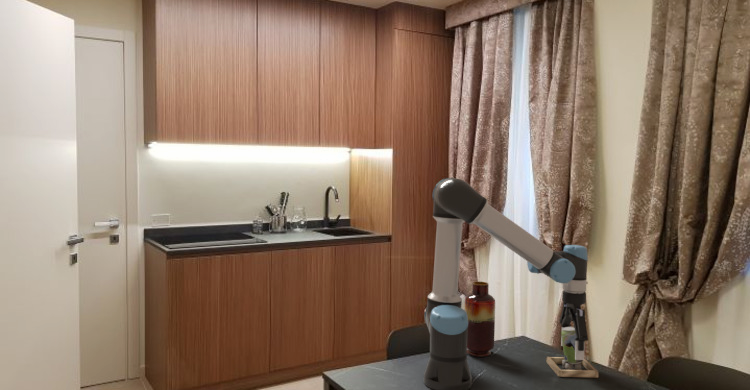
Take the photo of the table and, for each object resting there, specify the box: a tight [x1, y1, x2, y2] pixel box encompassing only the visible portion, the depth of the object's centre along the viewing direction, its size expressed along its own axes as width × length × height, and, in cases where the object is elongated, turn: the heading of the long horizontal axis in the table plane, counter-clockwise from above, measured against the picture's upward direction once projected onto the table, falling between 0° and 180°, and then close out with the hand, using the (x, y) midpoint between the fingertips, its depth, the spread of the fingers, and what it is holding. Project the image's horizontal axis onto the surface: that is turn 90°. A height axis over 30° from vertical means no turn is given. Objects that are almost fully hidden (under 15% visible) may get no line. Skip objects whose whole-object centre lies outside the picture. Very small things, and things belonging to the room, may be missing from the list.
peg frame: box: [546, 356, 599, 378], centre depth 183 cm, size 13×13×2 cm
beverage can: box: [561, 326, 583, 364], centre depth 182 cm, size 6×7×12 cm
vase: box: [464, 281, 496, 358], centre depth 198 cm, size 11×11×26 cm
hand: (572, 352), depth 183 cm, fingers open, 13 cm apart
